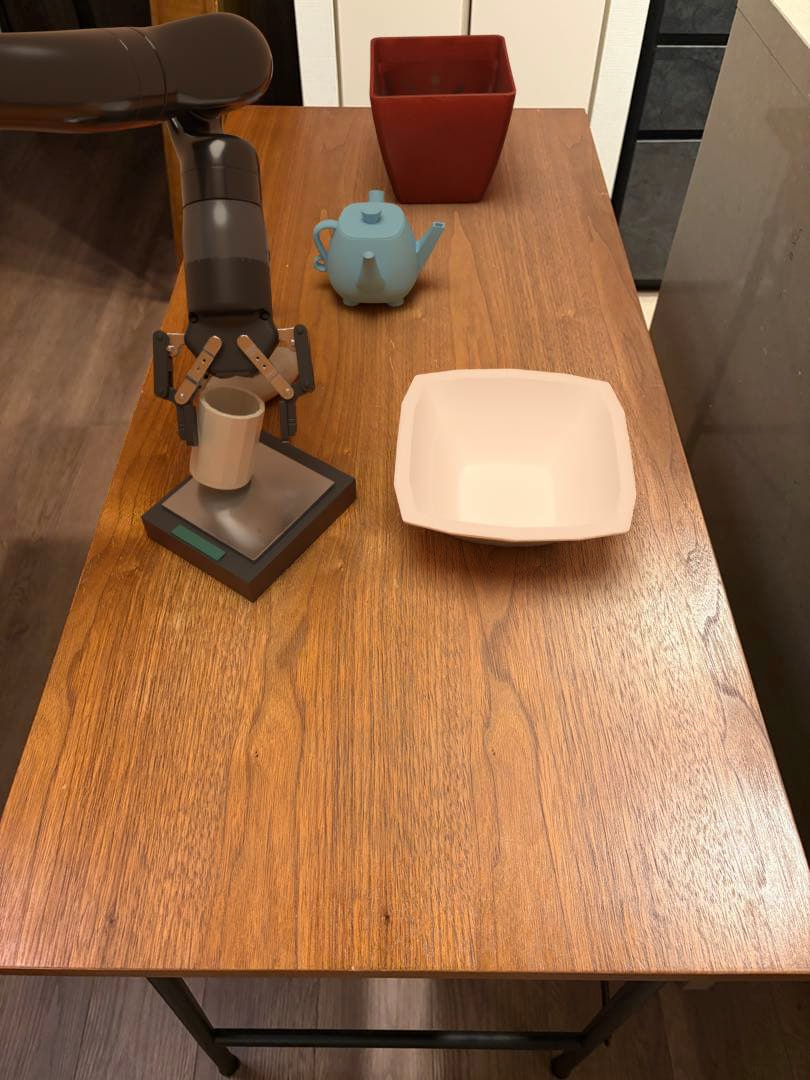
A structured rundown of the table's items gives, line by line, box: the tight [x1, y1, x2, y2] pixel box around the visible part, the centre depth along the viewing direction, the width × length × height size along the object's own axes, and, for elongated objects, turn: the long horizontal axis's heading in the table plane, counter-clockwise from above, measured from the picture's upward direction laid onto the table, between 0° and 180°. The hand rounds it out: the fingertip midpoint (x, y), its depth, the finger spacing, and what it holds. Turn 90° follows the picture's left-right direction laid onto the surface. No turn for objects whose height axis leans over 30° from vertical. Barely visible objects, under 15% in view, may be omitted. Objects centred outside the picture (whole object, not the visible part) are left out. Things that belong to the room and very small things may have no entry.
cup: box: [188, 385, 266, 490], centre depth 81 cm, size 6×6×8 cm
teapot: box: [312, 189, 446, 307], centre depth 106 cm, size 15×14×11 cm
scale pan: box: [162, 442, 335, 564], centre depth 83 cm, size 12×12×1 cm
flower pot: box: [368, 34, 517, 204], centre depth 121 cm, size 19×19×17 cm
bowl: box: [393, 368, 638, 548], centre depth 83 cm, size 22×23×8 cm
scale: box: [140, 428, 358, 603], centre depth 84 cm, size 16×14×3 cm
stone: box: [205, 346, 299, 403], centre depth 95 cm, size 6×6×12 cm
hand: (239, 444), depth 78 cm, fingers open, 8 cm apart
